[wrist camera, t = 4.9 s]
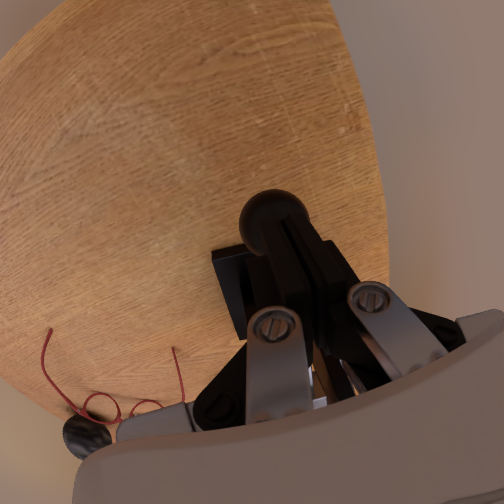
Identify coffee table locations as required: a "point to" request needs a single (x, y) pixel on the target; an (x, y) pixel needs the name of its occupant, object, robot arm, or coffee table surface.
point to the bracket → (244, 307)
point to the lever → (253, 211)
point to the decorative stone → (85, 436)
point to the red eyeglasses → (83, 411)
